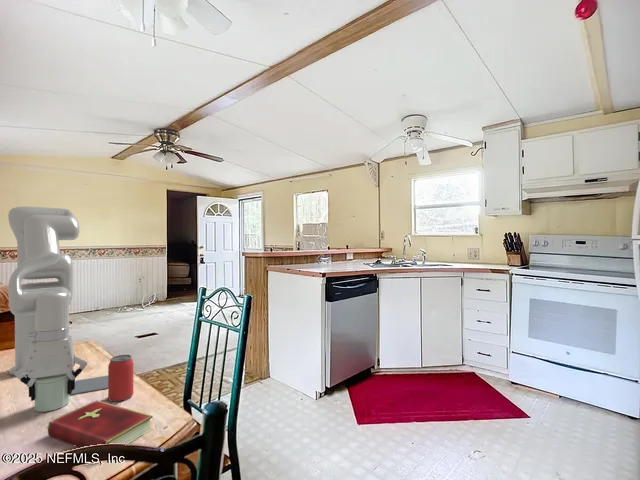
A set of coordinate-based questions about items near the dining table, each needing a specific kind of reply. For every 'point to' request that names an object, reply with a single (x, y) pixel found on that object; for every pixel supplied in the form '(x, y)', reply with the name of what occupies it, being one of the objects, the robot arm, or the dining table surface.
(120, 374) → the beer can
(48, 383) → the mint green domed cylinder
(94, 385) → the slate mat
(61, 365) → the robot arm
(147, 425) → the hardcover book
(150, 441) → the dining table surface
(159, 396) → the dining table surface
